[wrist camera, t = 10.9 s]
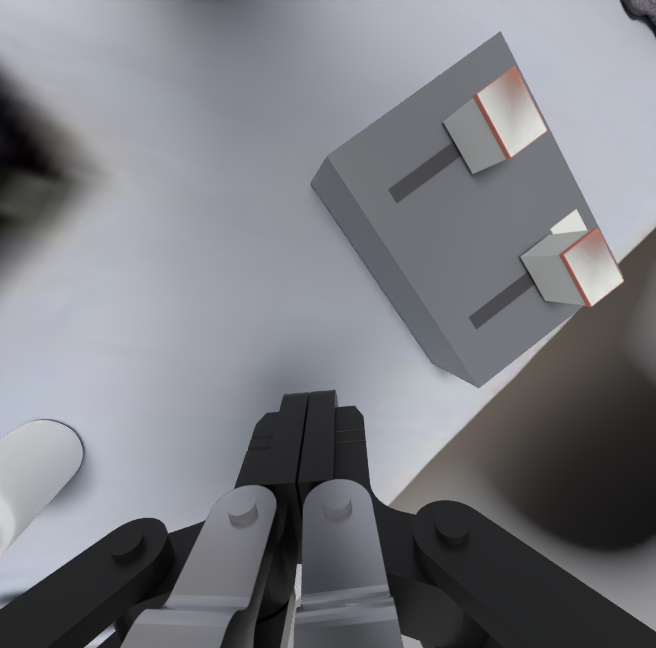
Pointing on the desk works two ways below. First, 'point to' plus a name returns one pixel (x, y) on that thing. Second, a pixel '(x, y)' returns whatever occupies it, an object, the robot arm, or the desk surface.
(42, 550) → the desk surface
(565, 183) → the power box
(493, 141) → the switch
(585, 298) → the switch
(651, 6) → the geode
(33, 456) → the can
